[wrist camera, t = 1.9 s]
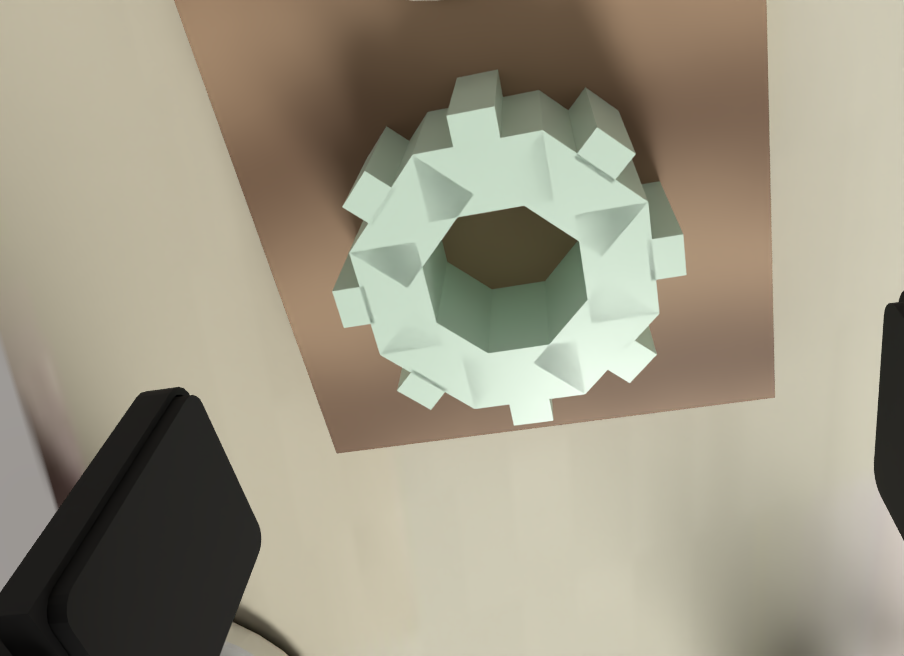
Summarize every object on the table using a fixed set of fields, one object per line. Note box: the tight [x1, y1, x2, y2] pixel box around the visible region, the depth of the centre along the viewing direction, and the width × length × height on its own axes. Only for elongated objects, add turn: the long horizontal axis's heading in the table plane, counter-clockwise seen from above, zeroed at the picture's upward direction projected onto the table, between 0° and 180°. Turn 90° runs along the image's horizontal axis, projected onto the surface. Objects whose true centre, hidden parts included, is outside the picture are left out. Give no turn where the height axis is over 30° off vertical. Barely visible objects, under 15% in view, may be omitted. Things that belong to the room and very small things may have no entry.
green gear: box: [332, 69, 687, 426], centre depth 18 cm, size 7×7×3 cm
